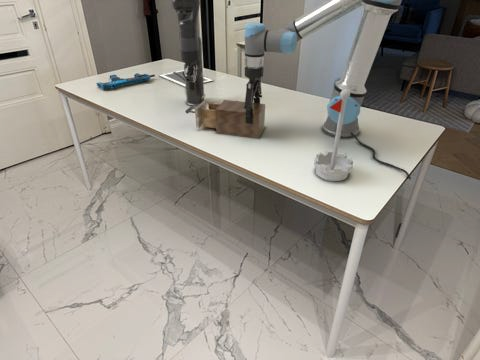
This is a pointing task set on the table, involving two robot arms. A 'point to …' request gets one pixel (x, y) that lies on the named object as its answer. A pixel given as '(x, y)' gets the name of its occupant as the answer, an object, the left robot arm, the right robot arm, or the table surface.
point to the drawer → (204, 114)
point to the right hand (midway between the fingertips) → (253, 117)
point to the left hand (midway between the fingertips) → (193, 90)
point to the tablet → (179, 80)
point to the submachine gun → (124, 81)
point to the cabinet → (239, 119)
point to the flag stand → (335, 150)
